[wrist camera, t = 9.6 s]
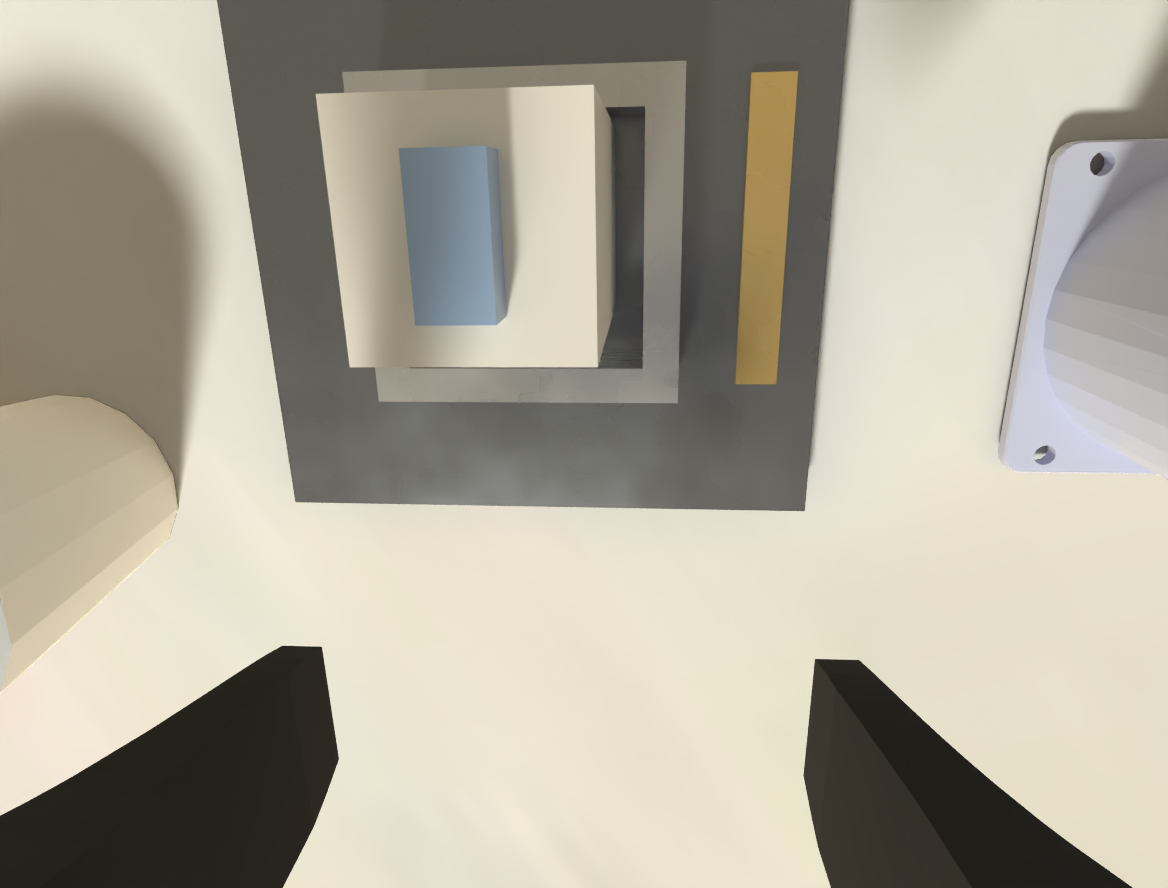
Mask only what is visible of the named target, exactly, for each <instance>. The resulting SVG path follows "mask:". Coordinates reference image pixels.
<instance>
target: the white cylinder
mask: <svg viewBox="0 0 1168 888" xmlns="http://www.w3.org/2000/svg"><path fill="white" fill-rule="evenodd" d="M177 511H178V504H177V497H176V490H175V483H174V476H173V473H172V471H171V469H170V468H169V466H168V464H167V462H166V460H165V459H164V457H163V455H162V453H161V451H160V449H159V448H158V446H157V444H156V442H155V441H154V440H153V439H152V438H151V437H150V436H149V435H148V434H147V433H146V432H144V431H143V430H142V429H141V428H140V427H139V426H138V425H137V424H136V423H135V422H134V421H133V420H131V419H130V418H129V417H128V416H127V415H126V414H124V413H122V412H120V411H118V410H116V409H114V408H111V407H109V406H107V405H105V404H103V403H100V402H98V401H96V400H94V399H92V398H88V397H74V396H61V395H51V396H47V397H42V398H37V399H33V400H28V401H23V402H19V403H14V404H9V405H5V406H0V695H1V694H2V693H3V692H4V691H5V690H6V689H7V688H8V687H9V686H10V685H11V684H13V683H14V682H15V681H16V680H17V679H18V678H19V677H20V676H21V675H22V674H23V673H24V672H26V671H27V670H28V669H29V668H30V667H31V666H32V665H33V664H34V663H35V662H36V661H38V660H39V659H40V658H41V657H42V656H43V655H44V654H45V653H46V652H47V651H48V650H49V649H51V648H52V647H53V646H54V645H55V644H56V643H57V642H58V641H59V640H60V639H61V638H62V637H64V636H65V635H66V634H67V633H68V632H69V631H70V630H71V629H72V628H73V627H74V626H76V625H77V624H78V623H79V622H80V621H81V620H82V619H83V618H84V617H85V616H86V615H87V614H89V613H90V612H91V611H92V610H93V609H94V608H95V607H96V606H97V605H98V604H99V603H100V602H102V601H103V600H104V599H105V598H106V597H107V596H108V595H109V594H110V593H111V592H112V591H114V590H115V589H116V588H117V587H118V586H119V585H120V584H121V583H122V582H123V581H124V580H125V579H127V578H128V577H129V576H130V575H131V574H132V573H133V572H134V571H135V570H136V569H137V568H138V567H140V566H141V565H142V564H143V563H144V562H145V561H146V560H147V559H148V558H149V557H150V556H151V555H152V554H153V553H154V552H155V551H156V550H157V549H158V548H159V547H160V546H161V545H162V544H163V543H164V542H165V541H166V540H167V539H168V538H169V537H170V534H171V530H172V527H173V524H174V521H175V517H176V514H177Z"/></svg>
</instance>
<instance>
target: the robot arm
mask: <svg viewBox="0 0 1168 888" xmlns="http://www.w3.org/2000/svg"><path fill="white" fill-rule="evenodd" d="M1097 153H1101V154H1102V156H1103V157H1104V163H1105V164H1104V166H1103V169H1102V171H1100V172H1099V173H1098V174H1097V175H1094V174H1093V173H1092V172H1091V171H1090V162H1091V160H1092V158H1093V157H1094V156H1095V155H1096V154H1097ZM1046 445H1047V447H1048V451H1047V453H1046V455H1045V456H1044V457H1042V458H1041V459H1037V460H1034V454H1035V452H1036V450H1037V449H1039V448H1040V447H1042V446H1046ZM998 458H999V459H1000V461H1001V463H1002V464H1003V465H1005V466H1006V467H1007V468H1009V469H1010V470H1012V471H1015V472H1020V473H1095V474H1158V475H1160V476H1161V477H1163V478H1165V479H1167V480H1168V138H1166V139H1122V140H1082V141H1074V142H1070V143H1066V144H1064V145H1062V146H1061V147H1059V148H1058V149H1057V150H1056V151H1055V152H1054V154H1053V155H1052V156H1051V158H1050V161H1049V164H1048V168H1047V174H1046V179H1045V185H1044V191H1043V196H1042V202H1041V208H1040V214H1039V219H1038V225H1037V231H1036V236H1035V242H1034V248H1033V254H1032V259H1031V265H1030V271H1029V276H1028V282H1027V288H1026V294H1025V299H1024V305H1023V311H1022V316H1021V322H1020V328H1019V334H1018V339H1017V345H1016V351H1015V356H1014V362H1013V368H1012V373H1011V379H1010V385H1009V391H1008V396H1007V402H1006V408H1005V413H1004V419H1003V425H1002V431H1001V436H1000V442H999V448H998ZM338 760H339V757H338V751H337V744H336V737H335V731H334V724H333V718H332V711H331V705H330V698H329V691H328V685H327V678H326V672H325V665H324V658H323V652H322V647H306V646H281V647H279V648H278V649H276V650H274V651H272V652H270V653H269V654H267V655H265V656H264V657H262V658H260V659H259V660H257V661H256V662H254V663H252V664H251V665H249V666H248V667H246V668H245V669H243V670H241V671H240V672H238V673H237V674H235V675H234V676H232V677H231V678H229V679H228V680H226V681H225V682H223V683H222V684H220V685H218V686H217V687H215V688H214V689H212V690H211V691H209V692H208V693H206V694H205V695H203V696H202V697H200V698H199V699H197V700H196V701H194V702H192V703H191V704H189V705H188V706H186V707H185V708H183V709H182V710H180V711H179V712H177V713H175V714H174V715H172V716H171V717H169V718H168V719H166V720H165V721H163V722H162V723H160V724H159V725H157V726H155V727H154V728H152V729H151V730H149V731H147V732H146V733H144V734H142V735H141V736H139V737H137V738H136V739H134V740H133V741H131V742H129V743H128V744H126V745H124V746H123V747H121V748H119V749H118V750H116V751H114V752H113V753H111V754H109V755H108V756H106V757H104V758H103V759H101V760H99V761H98V762H96V763H94V764H93V765H91V766H89V767H88V768H86V769H85V770H83V771H81V772H80V773H78V774H76V775H75V776H73V777H71V778H69V779H68V780H66V781H64V782H62V783H60V784H59V785H57V786H55V787H53V788H52V789H50V790H48V791H46V792H44V793H42V794H41V795H39V796H37V797H35V798H33V799H31V800H30V801H28V802H26V803H24V804H22V805H20V806H18V807H16V808H14V809H12V810H10V811H8V812H7V813H5V814H3V815H1V816H0V888H283V886H284V884H285V882H286V880H287V878H288V876H289V874H290V872H291V870H292V868H293V866H294V865H295V863H296V861H297V859H298V857H299V855H300V853H301V851H302V849H303V847H304V845H305V843H306V841H307V839H308V837H309V835H310V833H311V831H312V829H313V827H314V825H315V822H316V820H317V817H318V814H319V812H320V809H321V807H322V804H323V802H324V799H325V796H326V794H327V791H328V788H329V785H330V782H331V780H332V777H333V774H334V771H335V768H336V766H337V763H338ZM804 780H805V785H806V790H807V795H808V800H809V805H810V811H811V816H812V820H813V825H814V830H815V834H816V839H817V844H818V848H819V851H820V854H821V858H822V861H823V864H824V867H825V870H826V873H827V876H828V879H829V883H830V886H831V888H1132V887H1131V886H1129V885H1128V884H1127V883H1125V882H1124V881H1122V880H1121V879H1120V878H1118V877H1117V876H1115V875H1114V874H1112V873H1111V872H1110V871H1108V870H1107V869H1105V868H1104V867H1103V866H1101V865H1100V864H1098V863H1097V862H1096V861H1094V860H1093V859H1091V858H1090V857H1089V856H1087V855H1086V854H1084V853H1083V852H1082V851H1080V850H1079V849H1077V848H1076V847H1075V846H1073V845H1072V844H1070V843H1069V842H1068V841H1066V840H1065V839H1064V838H1062V837H1061V836H1060V835H1058V834H1057V833H1056V832H1054V831H1053V830H1052V829H1051V828H1049V827H1048V826H1047V825H1045V824H1044V823H1043V822H1041V821H1040V820H1039V819H1038V818H1036V817H1035V816H1034V815H1033V814H1031V813H1030V812H1029V811H1028V810H1026V809H1025V808H1024V807H1023V806H1022V805H1020V804H1019V803H1018V802H1017V801H1015V800H1014V799H1013V798H1012V797H1010V796H1009V795H1008V794H1007V793H1005V792H1004V791H1003V790H1002V789H1000V788H999V787H998V786H997V785H996V784H994V783H993V782H992V781H991V780H990V779H989V778H987V777H986V776H985V775H984V774H983V773H981V772H980V771H979V770H978V769H977V768H976V767H974V766H973V765H972V764H971V763H970V762H969V761H968V760H966V759H965V758H964V757H963V756H962V755H961V754H960V753H958V752H957V751H956V750H955V749H954V748H953V747H952V746H951V745H950V744H948V743H947V742H946V741H945V740H944V739H943V738H942V737H941V736H940V735H938V734H937V733H936V732H935V731H934V730H933V729H932V728H931V727H930V726H929V725H928V724H926V723H925V722H924V721H923V720H922V719H921V718H920V717H919V716H918V715H917V714H916V713H915V712H914V711H913V710H912V709H910V708H909V707H908V706H907V705H906V704H905V703H904V702H903V701H902V700H901V699H900V698H899V697H898V696H897V695H896V694H895V693H894V692H893V691H892V690H890V689H889V688H888V687H887V686H886V685H885V684H884V683H883V682H882V681H881V680H880V679H879V678H878V677H877V676H876V675H875V674H874V673H873V672H872V671H870V670H869V669H868V668H867V667H866V666H865V665H864V664H863V663H862V662H861V661H859V660H829V659H815V665H814V675H813V686H812V696H811V706H810V716H809V726H808V737H807V747H806V757H805V767H804Z"/></svg>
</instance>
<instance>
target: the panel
mask: <svg viewBox="0 0 1168 888" xmlns="http://www.w3.org/2000/svg"><path fill="white" fill-rule="evenodd" d="M217 3H218V9H219V15H220V22H221V28H222V35H223V41H224V47H225V54H226V60H227V66H228V73H229V79H230V86H231V92H232V98H233V105H234V111H235V118H236V124H237V130H238V137H239V143H240V150H241V156H242V162H243V169H244V175H245V182H246V188H247V194H248V201H249V207H250V214H251V220H252V226H253V233H254V239H255V246H256V252H257V258H258V265H259V271H260V278H261V284H262V290H263V297H264V303H265V310H266V316H267V322H268V329H269V335H270V342H271V348H272V354H273V361H274V367H275V373H276V380H277V386H278V393H279V399H280V405H281V412H282V418H283V425H284V431H285V437H286V444H287V450H288V457H289V463H290V469H291V476H292V482H293V489H294V495H295V501H296V502H320V503H377V504H433V505H490V506H547V507H604V508H660V509H717V510H774V511H805V501H806V489H807V478H808V467H809V455H810V444H811V432H812V421H813V409H814V398H815V386H816V375H817V364H818V352H819V341H820V329H821V318H822V306H823V295H824V283H825V272H826V261H827V249H828V238H829V226H830V215H831V203H832V192H833V180H834V169H835V157H836V146H837V135H838V123H839V112H840V100H841V89H842V77H843V66H844V54H845V43H846V32H847V20H848V9H849V0H217ZM571 85H594V86H595V88H596V90H597V92H598V94H599V96H600V98H601V100H602V102H603V104H604V106H605V108H606V110H607V112H608V114H609V116H610V118H611V120H612V122H613V125H614V127H615V211H616V305H615V309H614V312H613V316H612V319H611V323H610V326H609V330H608V333H607V337H606V340H605V344H604V347H603V351H602V354H601V357H600V361H599V364H598V367H350V366H349V358H348V350H347V342H346V334H345V326H344V318H343V310H342V302H341V294H340V286H339V278H338V270H337V262H336V254H335V246H334V238H333V230H332V221H331V213H330V205H329V197H328V189H327V181H326V173H325V165H324V157H323V149H322V141H321V133H320V125H319V117H318V109H317V101H316V94H327V93H357V92H388V91H418V90H449V89H479V88H510V87H540V86H571Z"/></svg>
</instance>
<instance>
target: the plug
mask: <svg viewBox="0 0 1168 888" xmlns="http://www.w3.org/2000/svg"><path fill="white" fill-rule="evenodd" d="M316 101H317V109H318V117H319V125H320V133H321V141H322V149H323V157H324V165H325V173H326V181H327V189H328V197H329V205H330V213H331V221H332V230H333V238H334V246H335V254H336V262H337V270H338V278H339V286H340V294H341V302H342V310H343V318H344V326H345V334H346V342H347V350H348V358H349V366H350V367H598V364H599V361H600V357H601V354H602V351H603V347H604V344H605V340H606V337H607V333H608V330H609V326H610V323H611V319H612V316H613V312H614V309H615V305H616V211H615V127H614V125H613V122H612V120H611V118H610V116H609V114H608V112H607V110H606V108H605V106H604V104H603V102H602V100H601V98H600V96H599V94H598V92H597V90H596V88H595V86H594V85H571V86H540V87H510V88H479V89H449V90H418V91H388V92H357V93H327V94H316Z"/></svg>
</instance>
